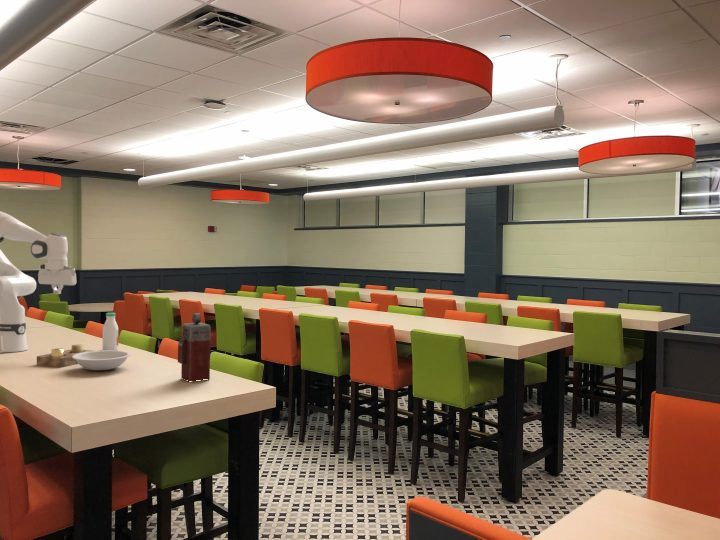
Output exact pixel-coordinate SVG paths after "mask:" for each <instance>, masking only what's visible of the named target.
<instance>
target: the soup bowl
mask: <svg viewBox="0 0 720 540" xmlns="http://www.w3.org/2000/svg"><path fill="white" fill-rule="evenodd" d="M131 355H132V354H131V352H129V351H123V350H116V351H114V350H105V351H103V350H92V351H90V352H83V353H78V354H75V355H73V356H72V358H73V359H75V360H76V361H77V362H78V365H79V366H80V367H82V368H83V369H84V370H85V369H86V370H90V371H108V370H114V369H116V368H119V367H120V366H121V365H123V364H124V363H125V362H126V360H127V359H128V357H129V358H130V356H131Z"/></svg>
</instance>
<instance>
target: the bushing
mask: <svg viewBox="0 0 720 540" xmlns="http://www.w3.org/2000/svg"><path fill="white" fill-rule="evenodd" d="M64 351H65V349H64V348H63V347H62V348H61V347H60V348H57V347H56V348H52V349H51V353H52V354H51V353H50V354H51V357H62V356H64Z"/></svg>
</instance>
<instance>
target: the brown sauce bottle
mask: <svg viewBox="0 0 720 540" xmlns="http://www.w3.org/2000/svg"><path fill="white" fill-rule="evenodd" d="M191 318H192V319H191V320H192V322H190V323H189V322H187V323H182V326H181V337H180V338H179V341H178V343H177V363H179V364H181V375H180V376H181V377H180V379H181V378H183V379H185V380H188V381H196V380H203V379H210V380H211V378H210V377H211V376H210V375H211V372H210V371H211V333H212V331H211V328H212V327H211V325H210V324H207V323H203V322H201V321H202V315H201V313H200V312H198V313H197V312H196V313H192V315H191ZM183 379H182V380H183ZM185 380H184V381H185Z"/></svg>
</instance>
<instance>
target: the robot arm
mask: <svg viewBox="0 0 720 540" xmlns="http://www.w3.org/2000/svg"><path fill="white" fill-rule="evenodd" d="M4 239H7V240H9V241H15V242H16V241H17V242H27V243H31V245H30V253H31V255H32V257H33V258H35V259H39V260H47V262H45V263H42V264H39V266H38V270H39V271H38V273H37V274H38V275H37V276H38V277H37V278H38V280H37V281H38V283H39V284H40V285H51V289H52V291H53V294H54V295H61V294H62V290H63V288H64V286H75V285H76V284H77V273H76V269H75V267H73V266H69V265H68V261H69V259H68V252H69V244H68V242H69V241H68V237H67V235H65V234H62V233H56V232H53V233H49V234H47V235H46V234H45V233H43V232H41V231H38V230H37V229H35V228H33V227H30V226H29V225H28V224H26V223H24V222H22V221H20V220H19V219H17V218H15V217H14V216H12V215H10V214H8V213H6V212H4V211H0V243H2V242H3V241H4ZM57 287H58V288H57ZM36 289H37V282H36V279H35V278H34V277H32V276H30V275H28V274H25V273H24V272H22V271H21V270H20V269H19V268H17V267H16V266H15V265H14V264H13V263H12V262H11V261H10V260H9V259H8V257H7V256H6V255H5V253H4V252H3V251H2V249H1V248H0V354H1V353H2V354H3V353H16V352H23V351H28V350H29V345H28V341H27V333H26V329H27V323H26V308H25V307H24V305H22V304H20V302H19V298H18V297H24V296H27V295H31V294H33V293H34V292H35V290H36Z"/></svg>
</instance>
